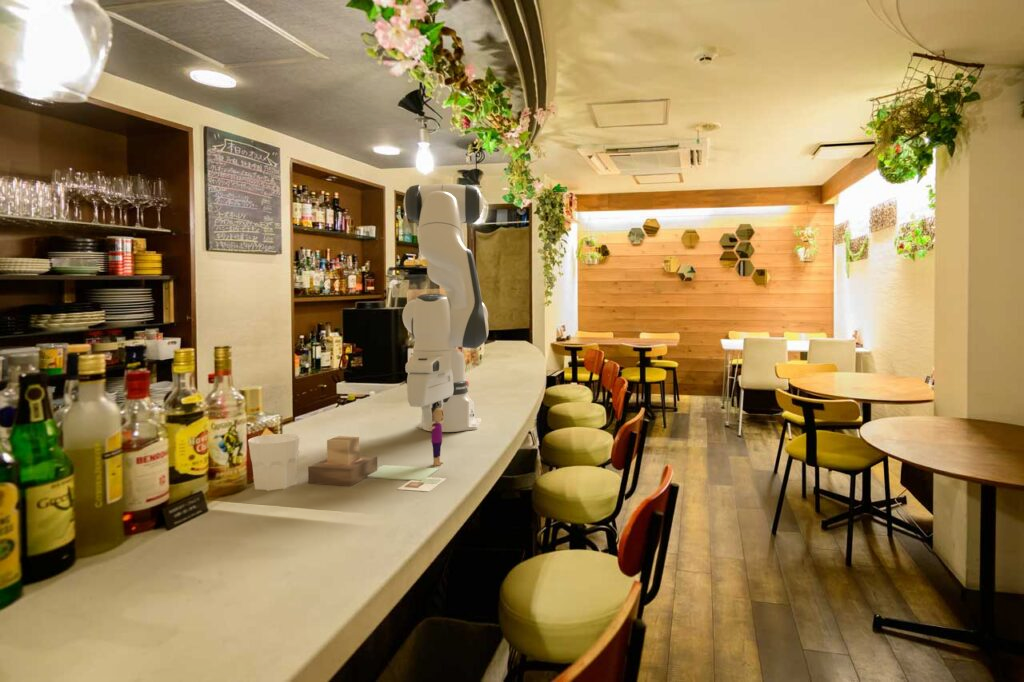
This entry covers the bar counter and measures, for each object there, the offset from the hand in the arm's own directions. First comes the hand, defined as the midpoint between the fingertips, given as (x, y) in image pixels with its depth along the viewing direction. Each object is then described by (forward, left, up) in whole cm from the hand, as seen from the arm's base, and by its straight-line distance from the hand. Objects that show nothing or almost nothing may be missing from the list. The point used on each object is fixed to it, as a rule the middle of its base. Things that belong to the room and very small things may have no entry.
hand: (432, 420), depth 145 cm
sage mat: (+9, -4, -11) cm, 14 cm away
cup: (+24, -26, -11) cm, 37 cm away
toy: (0, 0, -11) cm, 11 cm away
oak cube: (+15, -15, -7) cm, 22 cm away
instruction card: (+16, +4, -11) cm, 20 cm away
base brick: (+15, -15, -11) cm, 24 cm away
